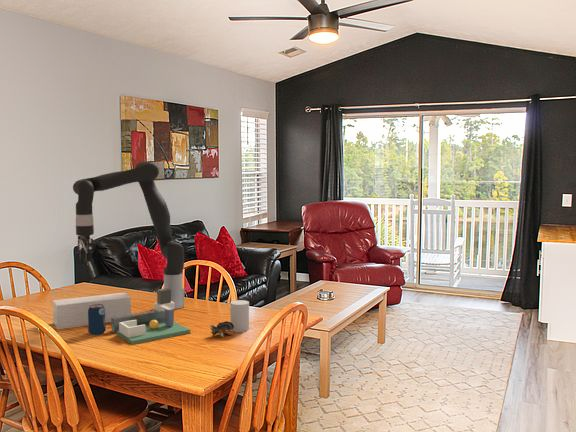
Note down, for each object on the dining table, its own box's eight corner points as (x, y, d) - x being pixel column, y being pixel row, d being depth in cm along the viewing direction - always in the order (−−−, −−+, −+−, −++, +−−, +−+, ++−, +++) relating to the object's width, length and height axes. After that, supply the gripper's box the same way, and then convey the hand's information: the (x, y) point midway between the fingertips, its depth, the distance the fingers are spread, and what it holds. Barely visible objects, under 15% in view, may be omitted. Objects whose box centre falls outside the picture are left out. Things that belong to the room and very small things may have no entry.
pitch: (173, 324, 249) (173, 321, 249) (190, 332, 236) (190, 329, 236) (117, 334, 233) (117, 331, 233) (132, 344, 220) (132, 341, 220)
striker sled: (169, 315, 256) (169, 287, 254) (185, 323, 244) (185, 293, 242) (153, 318, 251) (153, 289, 250) (169, 326, 239) (168, 296, 237)
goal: (136, 328, 237) (135, 319, 236) (145, 334, 229) (145, 324, 229) (119, 331, 232) (118, 322, 232) (128, 337, 224) (128, 328, 224)
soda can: (108, 333, 235) (108, 305, 233) (93, 337, 230) (92, 308, 229) (100, 330, 239) (100, 303, 238) (85, 333, 234) (84, 305, 233)
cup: (251, 327, 245) (251, 301, 244) (244, 332, 237) (244, 305, 236) (235, 325, 247) (235, 299, 246) (227, 330, 240) (227, 303, 239)
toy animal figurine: (218, 338, 225) (237, 331, 230) (211, 322, 227) (230, 315, 232) (212, 343, 231) (231, 336, 236) (206, 328, 234) (224, 321, 238)
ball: (156, 327, 239) (156, 318, 239) (160, 329, 236) (160, 320, 236) (147, 328, 237) (147, 319, 236) (151, 330, 234) (151, 321, 233)
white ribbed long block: (57, 329, 240) (56, 305, 239) (53, 323, 249) (53, 300, 248) (131, 319, 257) (130, 296, 256) (124, 314, 266) (124, 292, 265)
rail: (170, 320, 255) (170, 307, 255) (173, 321, 253) (173, 309, 252) (111, 331, 238) (111, 317, 237) (114, 332, 235) (113, 319, 235)
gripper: (98, 225, 244) (99, 261, 246) (87, 222, 255) (89, 257, 257) (81, 226, 240) (82, 263, 241) (71, 223, 251) (72, 258, 252)
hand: (85, 260), depth 249 cm, fingers open, 8 cm apart
